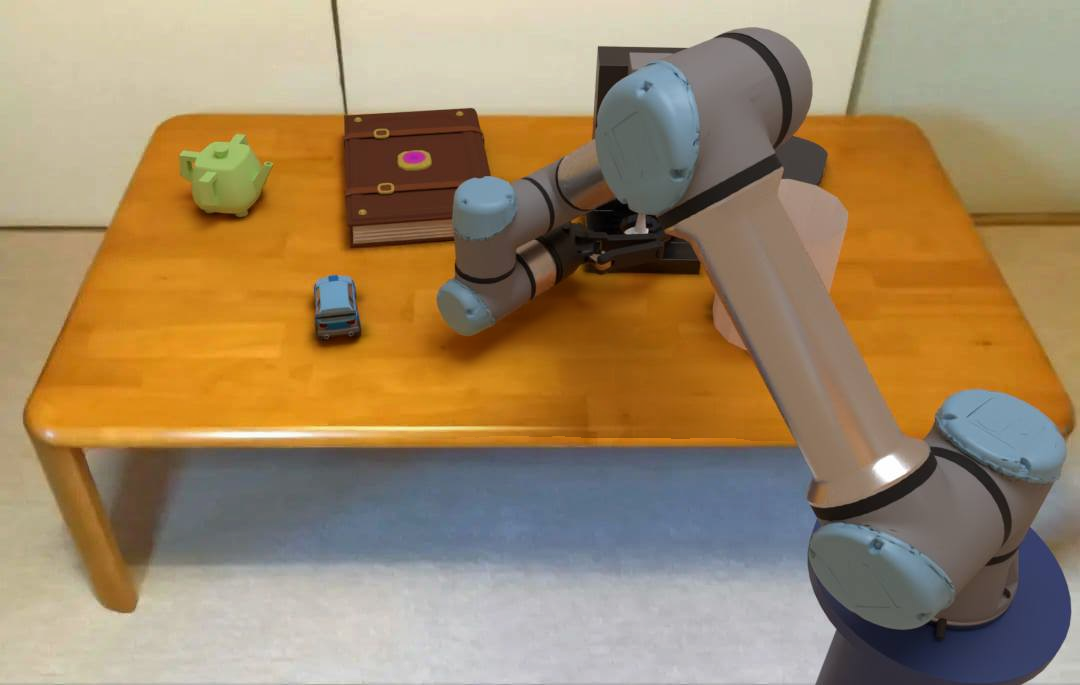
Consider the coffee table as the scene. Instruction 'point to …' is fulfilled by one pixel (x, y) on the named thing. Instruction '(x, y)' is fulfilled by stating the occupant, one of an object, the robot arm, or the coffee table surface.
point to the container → (803, 238)
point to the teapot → (225, 176)
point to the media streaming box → (802, 160)
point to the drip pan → (676, 250)
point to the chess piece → (638, 226)
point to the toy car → (336, 307)
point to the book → (408, 173)
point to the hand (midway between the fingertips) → (642, 199)
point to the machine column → (621, 67)
